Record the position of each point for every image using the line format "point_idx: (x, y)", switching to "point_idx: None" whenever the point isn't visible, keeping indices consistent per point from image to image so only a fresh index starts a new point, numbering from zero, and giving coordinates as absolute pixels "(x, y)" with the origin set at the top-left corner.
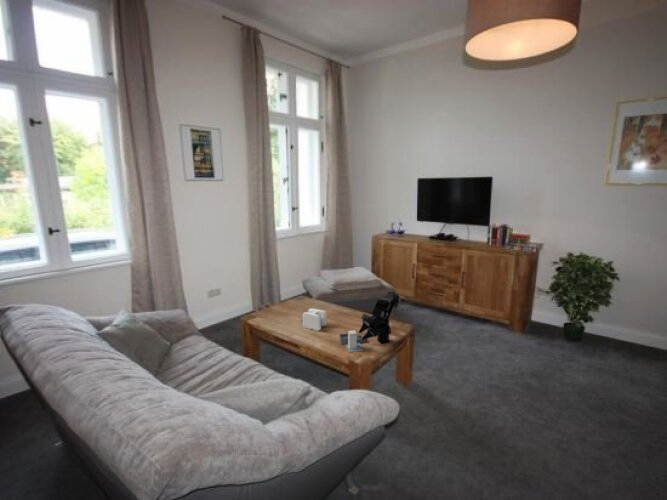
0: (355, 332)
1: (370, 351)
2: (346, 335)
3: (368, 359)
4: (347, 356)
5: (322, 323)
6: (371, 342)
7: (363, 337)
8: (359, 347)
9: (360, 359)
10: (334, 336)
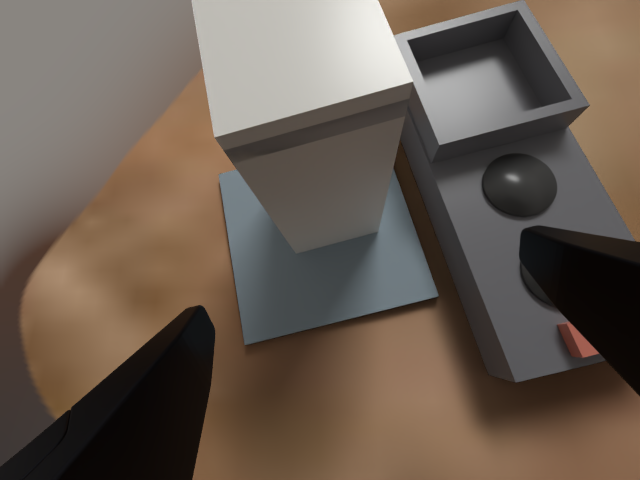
0: (269, 107)
1: (233, 436)
2: (545, 96)
3: (54, 396)
4: (147, 174)
5: None
6: (503, 473)
7: (152, 340)
8: (316, 288)
9: (72, 302)
10: (562, 17)
